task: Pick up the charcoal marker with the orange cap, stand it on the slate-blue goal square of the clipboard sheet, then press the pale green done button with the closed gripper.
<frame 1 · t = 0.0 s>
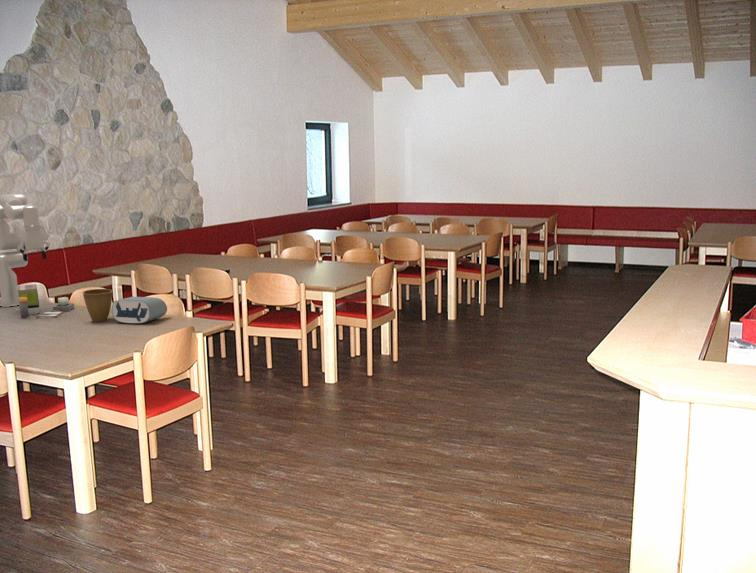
hand: (35, 260, 416), 31 cm above the table, tool pointing down, fingers open, 9 cm apart
pencil case: (141, 321, 406), on the table
button housing: (63, 310, 436), on the table
clipboard: (50, 315, 423), on the table
plant pot: (100, 320, 407), on the table
done button: (63, 301, 435), point 5 cm above the table, slide at 0.0 cm
marker: (25, 317, 418), on the table
tea box: (30, 312, 432), on the table
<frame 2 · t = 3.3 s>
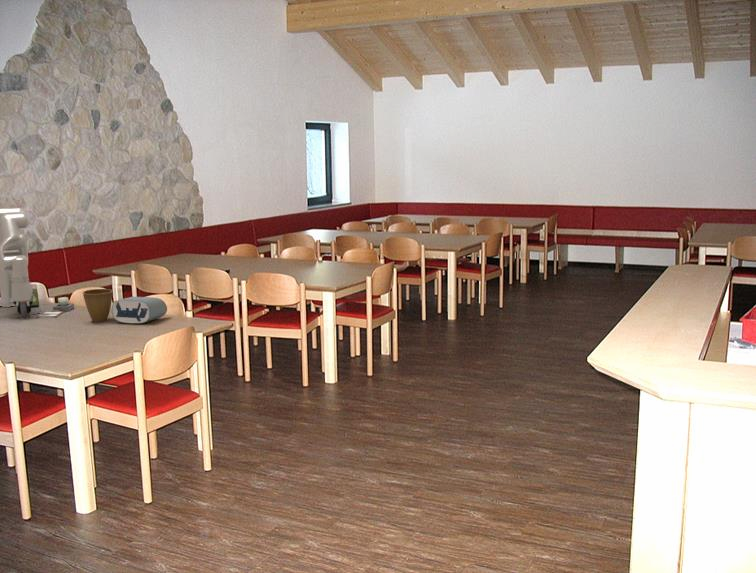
hand: (24, 312, 417), 3 cm above the table, tool pointing down, fingers closed on marker, 4 cm apart
marker: (25, 317, 418), on the table, touching gripper
everything else where it was.
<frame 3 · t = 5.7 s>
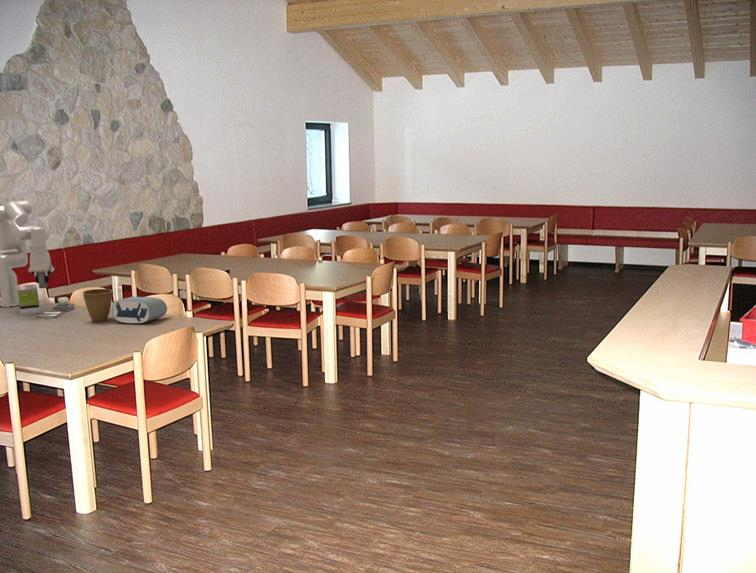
hand: (42, 282, 418), 19 cm above the table, tool pointing down, fingers closed on marker, 4 cm apart
marker: (43, 287, 418), point 16 cm above the table, touching gripper
everything else where it was.
when the fingers open (5 cm above the table, at t = 8.4 s): marker drops 1 cm, resting on clipboard.
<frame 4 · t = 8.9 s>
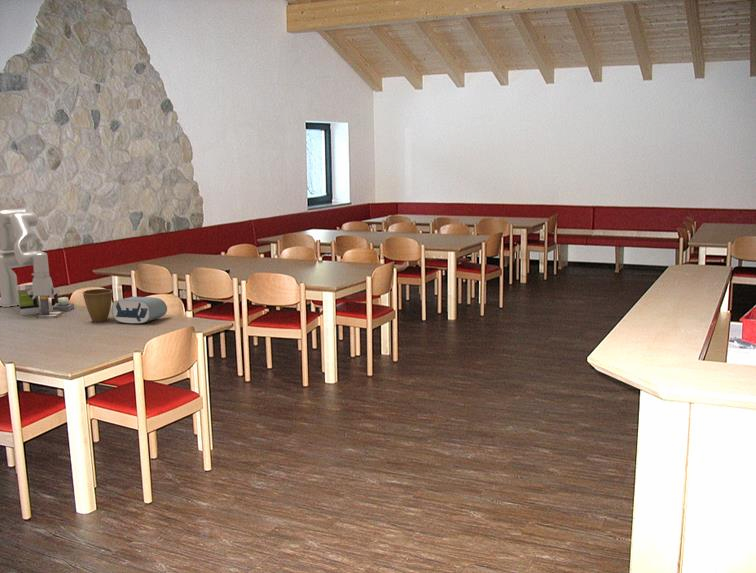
hand: (44, 305, 420), 6 cm above the table, tool pointing down, fingers open, 9 cm apart
marker: (45, 314, 421), point 1 cm above the table, touching clipboard
everything else where it was.
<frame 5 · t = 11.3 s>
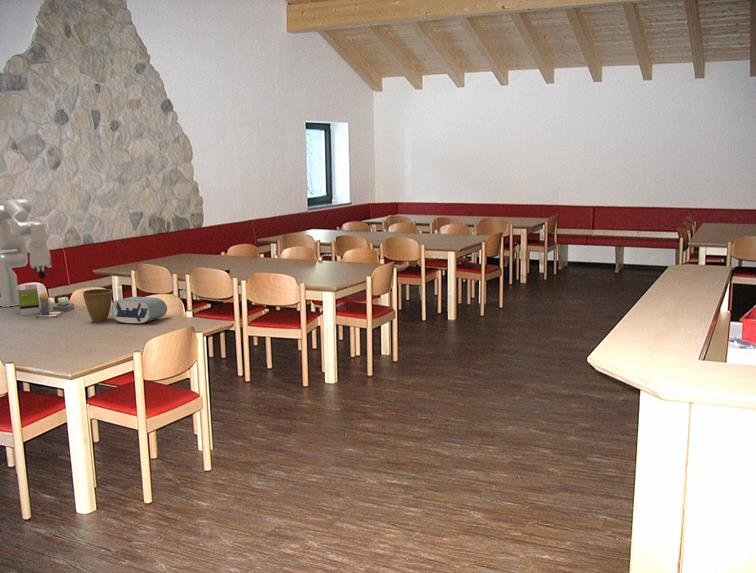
hand: (42, 278, 418), 21 cm above the table, tool pointing down, fingers closed
nothing on the table moved.
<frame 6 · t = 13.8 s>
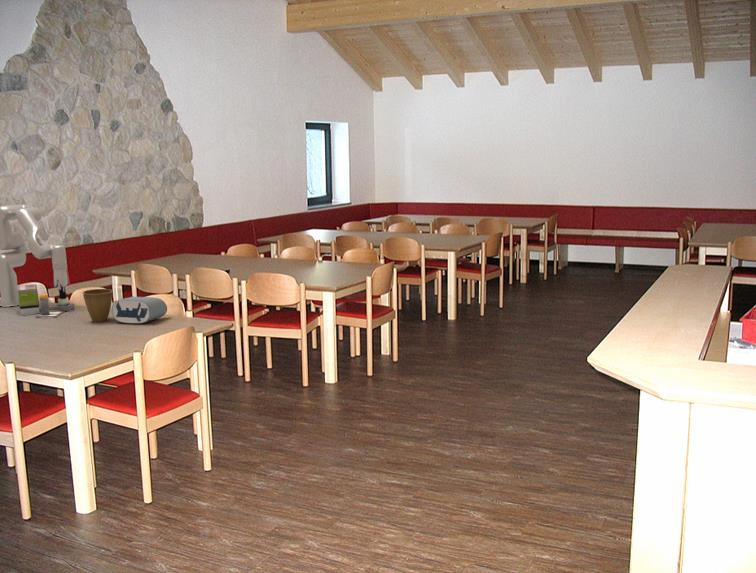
hand: (63, 298, 435), 7 cm above the table, tool pointing down, fingers closed
done button: (63, 302, 436), point 5 cm above the table, slide at 0.4 cm, touching gripper
everything else where it was.
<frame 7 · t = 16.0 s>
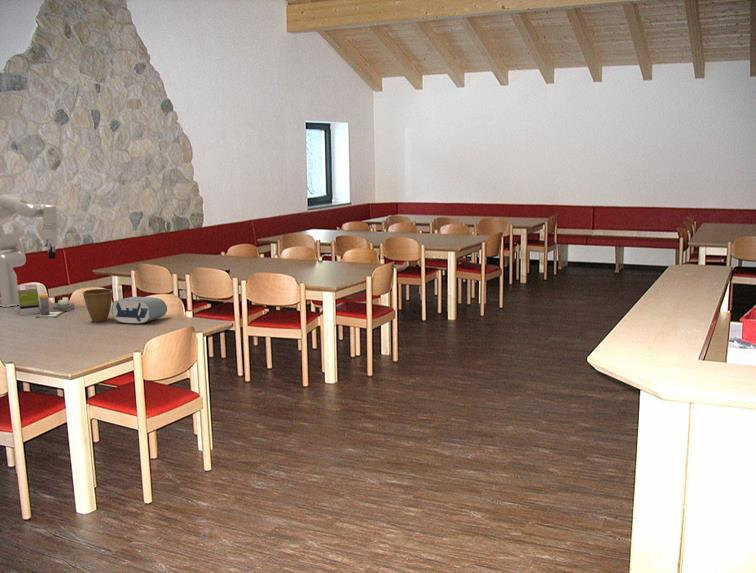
hand: (52, 258, 433), 29 cm above the table, tool pointing down, fingers closed
done button: (63, 303, 436), point 4 cm above the table, slide at 1.3 cm
everything else where it was.
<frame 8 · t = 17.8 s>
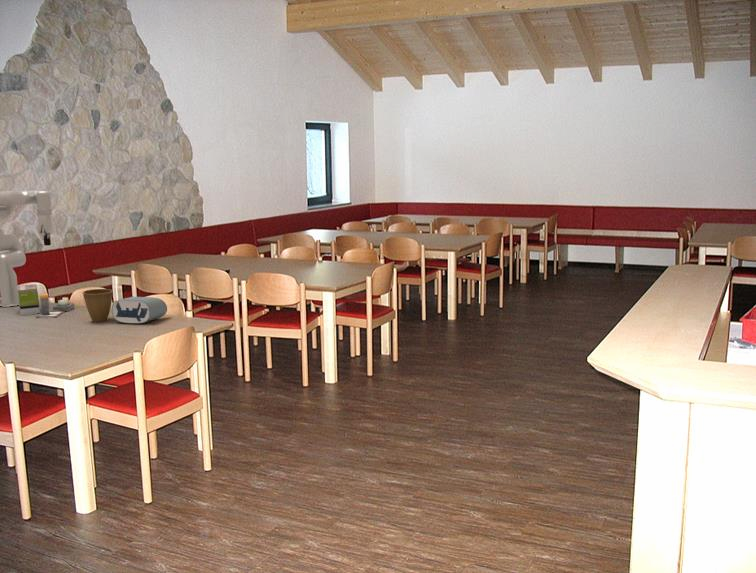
hand: (47, 245, 433), 37 cm above the table, tool pointing down, fingers closed
nothing on the table moved.
at the end: marker inside the target area (0.0 cm from its centre), point 0.8 cm above the table; marker tilted 1°; done button slide at 1.3 cm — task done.
